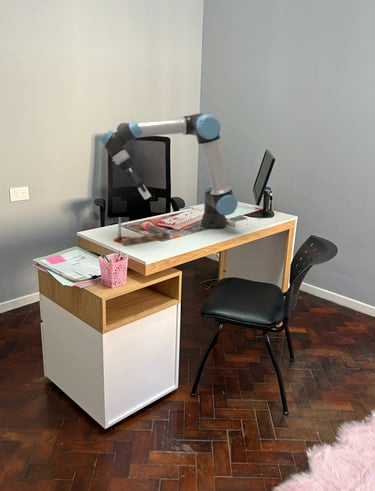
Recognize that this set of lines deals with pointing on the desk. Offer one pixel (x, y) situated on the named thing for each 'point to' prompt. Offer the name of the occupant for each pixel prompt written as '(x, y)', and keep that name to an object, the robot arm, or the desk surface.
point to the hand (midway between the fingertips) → (148, 198)
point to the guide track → (147, 236)
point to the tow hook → (119, 238)
